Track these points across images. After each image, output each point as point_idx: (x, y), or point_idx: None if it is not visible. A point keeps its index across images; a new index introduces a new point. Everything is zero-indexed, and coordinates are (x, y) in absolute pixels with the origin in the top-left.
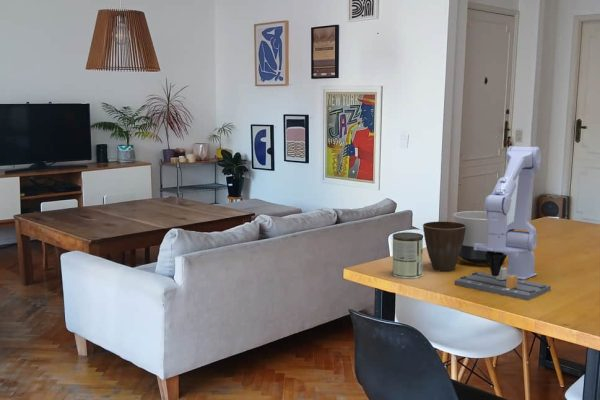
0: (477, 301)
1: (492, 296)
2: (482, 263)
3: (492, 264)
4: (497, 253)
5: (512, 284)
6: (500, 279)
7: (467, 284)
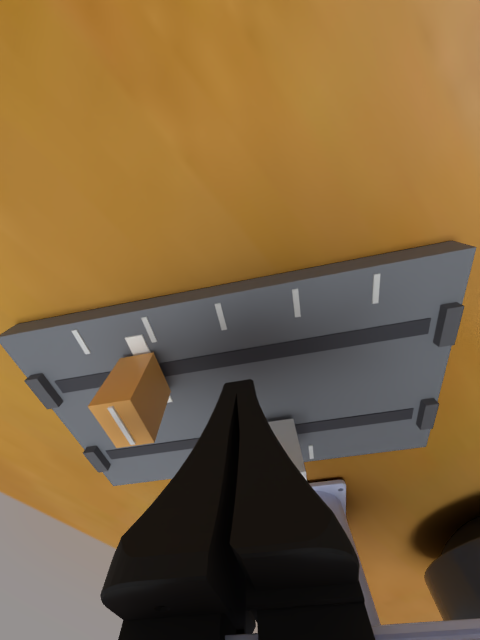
0: (79, 9)
1: (146, 233)
2: (473, 520)
3: (240, 448)
4: (194, 634)
5: (110, 374)
6: (272, 423)
7: (367, 263)
